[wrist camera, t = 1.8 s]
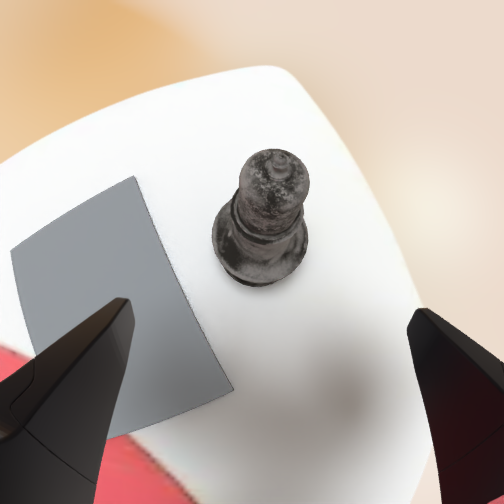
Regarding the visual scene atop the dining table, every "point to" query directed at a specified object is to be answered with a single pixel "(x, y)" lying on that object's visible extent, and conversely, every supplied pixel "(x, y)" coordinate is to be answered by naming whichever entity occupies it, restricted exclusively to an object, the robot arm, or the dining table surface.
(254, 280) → the dark grey chess piece
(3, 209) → the dining table surface
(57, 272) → the mat
